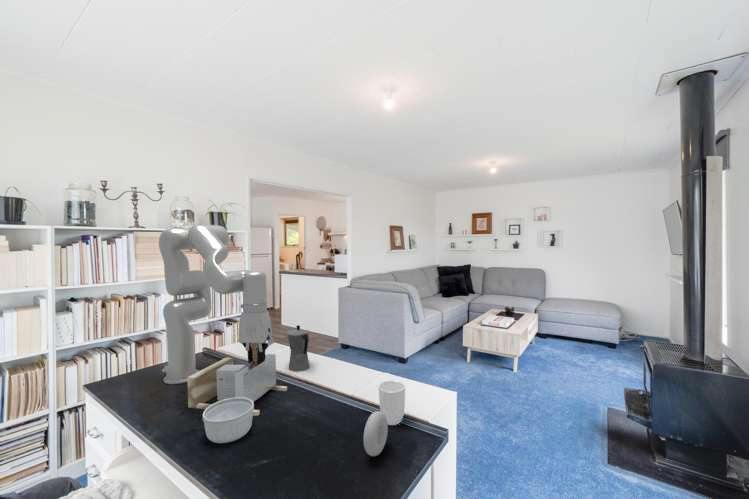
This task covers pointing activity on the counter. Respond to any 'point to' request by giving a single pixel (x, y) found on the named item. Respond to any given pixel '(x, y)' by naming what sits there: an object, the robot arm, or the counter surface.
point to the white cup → (392, 401)
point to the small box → (227, 381)
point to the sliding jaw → (256, 376)
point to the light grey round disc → (375, 433)
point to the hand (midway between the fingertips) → (256, 361)
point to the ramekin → (228, 419)
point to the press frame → (210, 386)
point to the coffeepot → (298, 349)
